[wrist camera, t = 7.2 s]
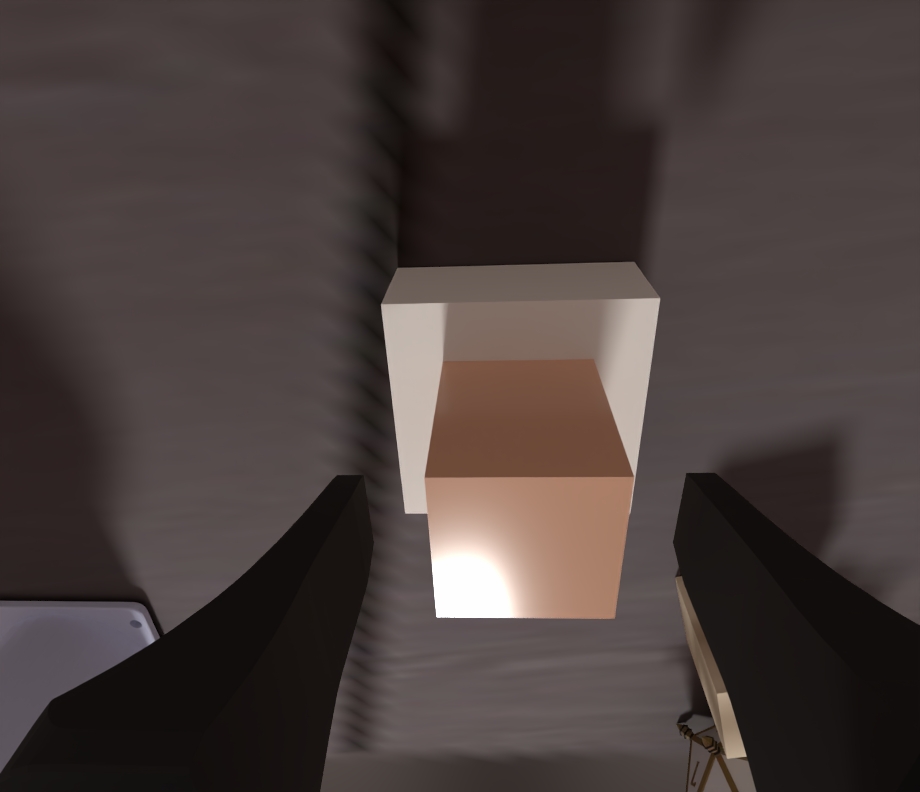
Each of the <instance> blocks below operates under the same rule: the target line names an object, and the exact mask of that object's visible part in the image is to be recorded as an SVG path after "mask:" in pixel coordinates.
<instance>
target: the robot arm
mask: <svg viewBox="0 0 920 792" xmlns="http://www.w3.org/2000/svg"><path fill="white" fill-rule="evenodd" d="M373 544H374V541H373V534H372V528H371V521H370V515H369V509H368V502H367V496H366V489H365V483H364V476H363V475H337V476H336V477H335V478H334V479H333V480H332V481H331V482H330V483H329V484H328V486H327V487H326V488H325V489H324V490H323V491H322V493H321V494H320V495H319V496H318V497H317V499H316V500H315V501H314V502H313V503H312V504H311V505H310V507H309V508H308V509H307V510H306V511H305V512H304V513H303V515H302V516H301V517H300V518H299V519H298V520H297V521H296V522H295V523H294V524H293V525H292V527H291V528H290V529H289V530H288V531H287V532H286V533H285V534H284V535H283V536H282V537H281V538H280V539H279V541H278V542H277V543H276V544H275V545H274V546H273V547H272V548H270V549H269V550H268V551H267V552H266V553H265V554H264V555H263V556H262V557H261V558H260V559H259V560H258V561H257V562H256V563H255V564H254V565H253V566H252V567H251V568H250V569H249V570H248V571H247V572H246V573H244V574H243V575H242V576H241V577H240V578H239V579H238V580H237V581H235V582H234V583H233V584H232V585H231V586H230V587H228V588H227V589H226V590H225V591H223V592H222V593H221V594H220V595H219V596H217V597H216V598H215V599H214V600H212V601H211V602H210V603H208V604H207V605H206V606H204V607H203V608H201V609H200V610H199V611H197V612H196V613H195V614H193V615H192V616H190V617H189V618H188V619H186V620H185V621H184V622H182V623H181V624H179V625H178V626H177V627H175V628H174V629H172V630H171V631H170V632H168V633H167V634H165V635H163V636H162V637H159V635H158V632H157V630H156V628H155V626H154V624H153V621H152V619H151V617H150V615H149V613H148V611H147V609H146V607H145V606H144V605H142V604H140V603H137V602H83V601H0V792H320V789H321V782H322V776H323V771H324V764H325V759H326V753H327V747H328V741H329V735H330V730H331V724H332V719H333V713H334V708H335V702H336V697H337V692H338V688H339V684H340V680H341V675H342V672H343V668H344V665H345V661H346V658H347V654H348V651H349V647H350V644H351V640H352V637H353V633H354V630H355V626H356V623H357V619H358V616H359V612H360V608H361V605H362V601H363V598H364V594H365V590H366V587H367V583H368V577H369V571H370V565H371V558H372V551H373ZM673 544H674V548H675V552H676V556H677V560H678V564H679V568H680V571H681V575H682V579H683V582H684V586H685V588H686V591H687V593H688V596H689V598H690V601H691V603H692V606H693V608H694V611H695V613H696V616H697V618H698V621H699V623H700V626H701V628H702V630H703V633H704V635H705V638H706V640H707V643H708V645H709V647H710V650H711V652H712V655H713V657H714V660H715V662H716V665H717V667H718V669H719V672H720V674H721V677H722V679H723V682H724V685H725V688H726V690H727V693H728V696H729V699H730V702H731V705H732V708H733V712H734V715H735V718H736V722H737V725H738V728H739V732H740V735H741V738H742V742H743V745H744V749H745V752H746V756H747V760H748V763H749V767H750V770H751V774H752V778H753V781H754V785H755V789H756V792H920V625H918V624H916V623H915V622H913V621H911V620H909V619H908V618H906V617H904V616H902V615H901V614H899V613H898V612H896V611H894V610H893V609H891V608H889V607H888V606H886V605H884V604H883V603H881V602H880V601H878V600H877V599H875V598H874V597H872V596H871V595H869V594H868V593H866V592H865V591H863V590H861V589H860V588H858V587H857V586H855V585H854V584H852V583H851V582H849V581H848V580H846V579H845V578H844V577H842V576H841V575H839V574H838V573H836V572H835V571H834V570H832V569H831V568H830V567H828V566H827V565H826V564H824V563H823V562H822V561H820V560H819V559H818V558H816V557H815V556H814V555H812V554H811V553H810V552H808V551H807V550H806V549H804V548H803V547H802V546H801V545H799V544H798V543H797V542H796V541H794V540H793V539H792V538H791V537H789V536H788V535H787V534H786V533H784V532H783V531H782V530H781V529H780V528H778V527H777V526H776V525H775V524H774V523H772V522H771V521H770V520H769V519H768V518H767V517H765V516H764V515H763V514H762V513H761V512H760V511H758V510H757V509H756V508H755V507H754V506H753V505H751V504H750V503H749V502H748V501H747V500H746V499H745V498H743V497H742V496H741V495H740V494H739V493H738V492H737V491H735V490H734V489H733V488H732V487H731V486H730V485H729V484H727V483H726V482H725V481H724V480H723V479H722V478H720V477H719V476H718V475H717V474H716V473H686V478H685V483H684V488H683V494H682V499H681V504H680V509H679V514H678V520H677V525H676V530H675V535H674V540H673Z"/></svg>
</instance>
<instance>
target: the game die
mask: <svg viewBox="0 0 920 792" xmlns="http://www.w3.org/2000/svg"><path fill="white" fill-rule="evenodd" d="M677 726H678V729H679V731H680V735H683V736H684V738H685V739H686V738H687V739H689V740H690V741H691V742H690V753H689V763H688V774H687V785H686V792H756V789H755V785H754V781H753V778H752V774H751V770H750V767H749V763H748V760H747V757H739V758H730V759H727V757H726V754H725V751H724V748H723V746H722V743H721V740H720V737H719V734H718V731H717V728H716V725H715V726H712V727H710V728H708V729H705V730H703V731H701V732H699V733H696V734H693V732H692V729H689V728H688V725H680V724H677Z"/></svg>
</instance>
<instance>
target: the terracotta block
mask: <svg viewBox="0 0 920 792" xmlns="http://www.w3.org/2000/svg"><path fill="white" fill-rule="evenodd" d="M424 479H425V491H426V502H427V513H428V524H429V535H430V547H431V558H432V569H433V580H434V591H435V603H436V614H437V617H495V618H584V619H615V612H616V604H617V597H618V590H619V583H620V576H621V569H622V561H623V554H624V547H625V540H626V533H627V526H628V518H629V511H630V504H631V497H632V490H633V483H634V475H633V472H632V469H631V466H630V463H629V460H628V457H627V454H626V451H625V449H624V446H623V443H622V440H621V437H620V434H619V431H618V428H617V425H616V422H615V420H614V417H613V414H612V411H611V408H610V405H609V402H608V399H607V396H606V393H605V391H604V388H603V385H602V382H601V379H600V376H599V373H598V370H597V367H596V364H595V362H594V359H569V360H504V361H443V364H442V370H441V376H440V382H439V389H438V395H437V401H436V408H435V414H434V420H433V426H432V433H431V439H430V445H429V452H428V458H427V464H426V470H425V477H424Z"/></svg>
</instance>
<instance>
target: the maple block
mask: <svg viewBox="0 0 920 792" xmlns="http://www.w3.org/2000/svg"><path fill="white" fill-rule="evenodd" d="M675 580H676V585H677V590H678V596H679V601H680V607H681V612H682V617H683V623H684V628H685V634H686V639H687V643H688V645H689V648H690V651H691V654H692V657H693V660H694V663H695V666H696V669H697V672H698V675H699V678H700V681H701V684H702V687H703V690H704V693H705V695H706V698H707V701H708V704H709V707H710V710H711V713H712V716H713V719H714V722H715V725H716V728H717V731H718V734H719V737H720V740H721V743H722V746H723V748H724V751H725V754H726V757H727V759H730V758H739V757H747V756H746V752H745V749H744V745H743V742H742V738H741V735H740V732H739V728H738V725H737V722H736V718H735V715H734V712H733V708H732V705H731V702H730V699H729V696H728V693H727V690H726V688H725V685H724V682H723V679H722V677H721V674H720V672H719V669H718V667H717V665H716V662H715V660H714V657H713V655H712V652H711V650H710V647H709V645H708V643H707V640H706V638H705V635H704V633H703V630H702V628H701V626H700V623H699V621H698V618H697V616H696V613H695V611H694V608H693V606H692V603H691V601H690V598H689V596H688V593H687V591H686V588H685V586H684V582H683V579H682V576H680V577H675Z"/></svg>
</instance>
